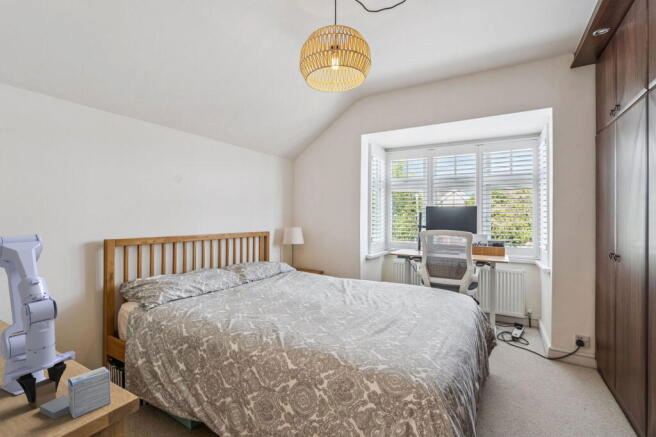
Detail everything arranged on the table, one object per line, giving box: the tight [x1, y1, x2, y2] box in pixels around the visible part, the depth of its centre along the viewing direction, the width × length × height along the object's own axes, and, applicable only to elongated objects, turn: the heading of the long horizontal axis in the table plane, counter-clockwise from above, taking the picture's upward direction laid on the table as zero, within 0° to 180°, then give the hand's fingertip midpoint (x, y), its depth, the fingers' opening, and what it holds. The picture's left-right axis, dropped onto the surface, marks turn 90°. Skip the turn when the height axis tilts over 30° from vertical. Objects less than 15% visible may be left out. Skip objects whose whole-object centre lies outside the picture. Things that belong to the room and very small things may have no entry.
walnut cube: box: [28, 377, 57, 409], centre depth 83 cm, size 4×4×5 cm
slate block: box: [39, 395, 70, 420], centre depth 80 cm, size 7×5×2 cm
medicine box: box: [67, 366, 112, 419], centre depth 81 cm, size 8×4×9 cm, turn 141°
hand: (42, 397), depth 83 cm, fingers closed on walnut cube, 4 cm apart
